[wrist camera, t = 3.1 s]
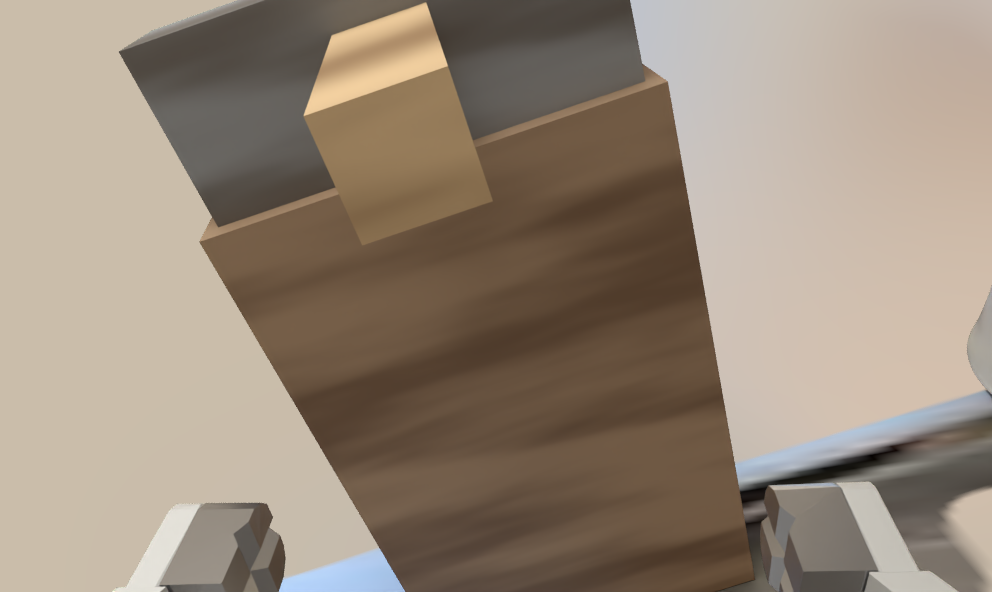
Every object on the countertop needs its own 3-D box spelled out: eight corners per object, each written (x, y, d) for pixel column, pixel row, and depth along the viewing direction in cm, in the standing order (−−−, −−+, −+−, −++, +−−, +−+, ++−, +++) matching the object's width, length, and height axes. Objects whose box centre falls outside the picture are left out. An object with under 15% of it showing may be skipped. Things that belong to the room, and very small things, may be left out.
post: (447, 602, 40) (224, 193, 27) (721, 515, 40) (628, 54, 27) (453, 674, 37) (199, 241, 24) (754, 579, 36) (667, 81, 23)
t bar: (236, 189, 27) (151, 30, 24) (616, 58, 27) (578, -121, 24) (142, 383, 17) (-29, 145, 14) (767, 173, 16) (733, -124, 13)
